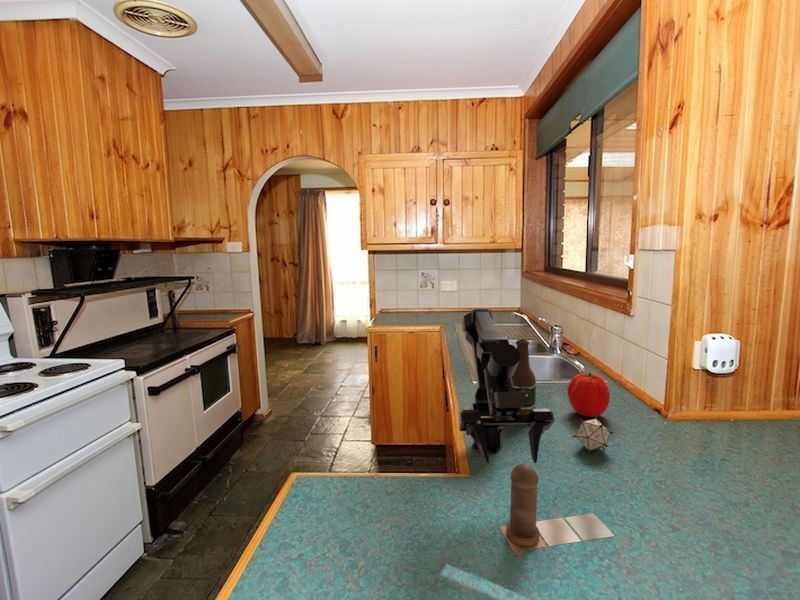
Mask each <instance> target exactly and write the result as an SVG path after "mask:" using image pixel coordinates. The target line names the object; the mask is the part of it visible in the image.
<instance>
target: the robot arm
mask: <svg viewBox="0 0 800 600" xmlns="http://www.w3.org/2000/svg"><path fill="white" fill-rule="evenodd" d="M461 322H462V323H461V326H462V327H461V329H462V332H463V333H464V336H465V340H466V342H468V343H469V344H470V346H471V347H472V355H473V364H474V371H475V379H476V387H477V389H476V391H475V393H474V397H473V401H472V404H471V407H470V409H462V410H461V411H460V413H459V417H458V429H459V431H460V432H465V434H466V435H467V436H470V437H471V438H472V440H473V441H474V442H473V443H472V445H471V447H472V448H474V449H477V450H479V452H480V454H481V455H482V457H483V459H484V462H485V464H487V465H489V464H490V458H489V457H490V456H489V453H493V454H496V453H497V452H498V451H499V450H500V449H501V448H502V447H503V444H504V428H502V427H506V426H507V425H508V426H509V425H511V426H512V425H527V427H528V428H529V430H528V431H527V434H528V440H529V446H530V454H531V459H532V462H533V463H532V464H536V463H538V462H537V461H538V455H539V448H540V441H541V437H542V435H544V433H545V432H546V431H549V429H550V428H551V427H552V425H553V424H554V423H555V422H556V421H555V417H554V413H553V412H552V410H550V409H549V408H535V409H532V410H531V412H530V414H529V415H518V412H520V411H521V408H523V404H527V403H531V401H532V400H531V393H530V389H529V387H520V388H519V389H518V392H515V389H514V387H513V383H512V377H511V376H513V374H514V372H515V370H516V367H517V365H518V362H519V360H520V353H519V351H518V350H517V346H514V345H513V343H512V342H510V341H509V339H508V338H507V337H508V336H506V335H505V334H504V333H502V332H499V331H498V330H497V327H496V325H495V322H494V317H493V314H492V310H491V309H490V308H473V309H471V311H470V312H469V313H467V314H465V315H463V317H462V321H461Z"/></svg>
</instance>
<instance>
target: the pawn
mask: <svg viewBox="0 0 800 600" xmlns="http://www.w3.org/2000/svg"><path fill="white" fill-rule="evenodd" d="M510 481H511V482H510V507H509V509H510V513H509V521H508V522H507V523H506V525H505V526H506V535H507V537H508V539H509V540H510V541H511V542H512V543H514V544H515V545H518V546H520V547H533V546H535V545H537V544H538V542H539V536H540V532H539V530H538V528H537V527H536V522H537V514H538V513H537V510H538V506H537V505H538V504H537V503H538V485H539V475H538V473H537V471H536V469H534V467H532V466H531V465H529V464H526V463H519V464H518V465H515V466H514V467H513V468H512V470H511V472H510Z"/></svg>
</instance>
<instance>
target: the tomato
mask: <svg viewBox="0 0 800 600" xmlns="http://www.w3.org/2000/svg"><path fill="white" fill-rule="evenodd" d="M581 372H582V373H578V374H576V375H575V376H574V377H572V379H571V380H570V381H569V383H568V385H567V388H566V390H567V396H568V397H567V398H568V399H569V403H570V405H571V407H572V408H573V410H574V411H575V412H576V413H577V414H578V415H581V416H584V417H585V418H595V416H597V417H599V416H601V415H602V414H604V413H605V412H606V410H607V409H608V407H609V404H610V398H611V397H610V395H611V393H610V391H609V390H610V389H609V386H608V384H607V383H606V381H605V379H604V378H603V377H602V376H600V375H597V373H592V372H589V373H586V372H583V371H581Z"/></svg>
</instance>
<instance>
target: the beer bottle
mask: <svg viewBox="0 0 800 600" xmlns="http://www.w3.org/2000/svg"><path fill="white" fill-rule="evenodd" d="M515 344H516V348H517V350H518V351H519V353H520V360H519V362H518V365H517V367H516V370H515V372H514V374H513V376H511V377H512V383H513V387H514V389H515V392H518V389H519V388H520V387H529V389H530V393H531V400H532V401H531V403H527V404H523V408H521V411H520V412H518V415H529V414H530V412H531V410H532V409H536V397H537V396H536V395H537V394H536V393H537V382H536V379H537V378H536V376H535V373H534V372H533V370H532V369H531V366H530V355H529V354H530V353H529V345H530V341H529V340H528V339H522V338H520V339H516V342H515Z"/></svg>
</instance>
